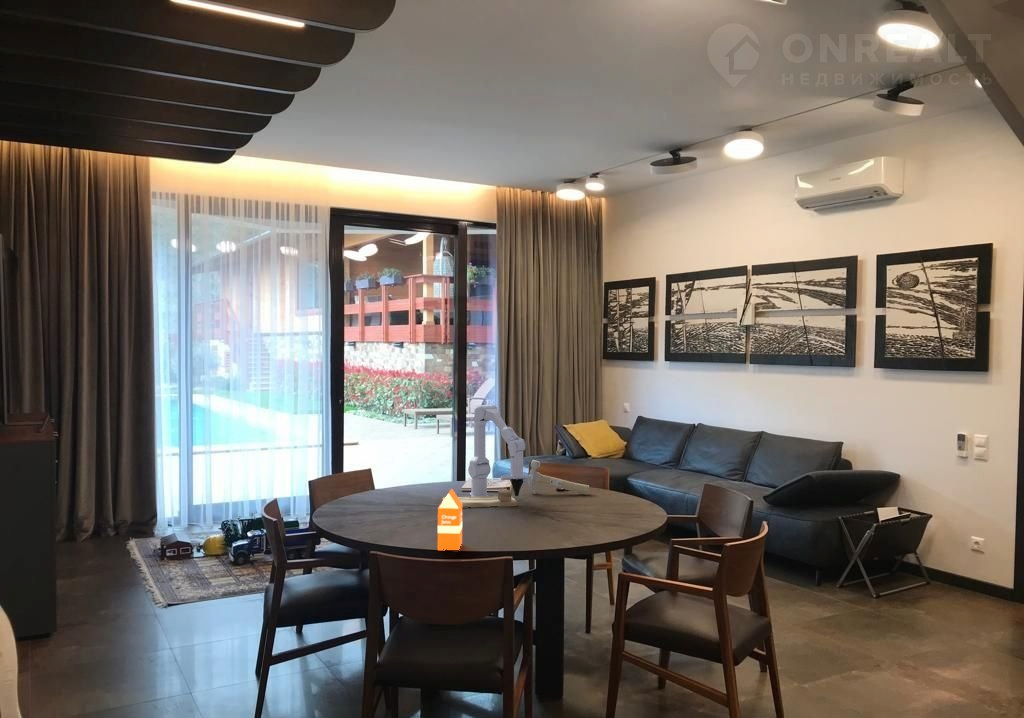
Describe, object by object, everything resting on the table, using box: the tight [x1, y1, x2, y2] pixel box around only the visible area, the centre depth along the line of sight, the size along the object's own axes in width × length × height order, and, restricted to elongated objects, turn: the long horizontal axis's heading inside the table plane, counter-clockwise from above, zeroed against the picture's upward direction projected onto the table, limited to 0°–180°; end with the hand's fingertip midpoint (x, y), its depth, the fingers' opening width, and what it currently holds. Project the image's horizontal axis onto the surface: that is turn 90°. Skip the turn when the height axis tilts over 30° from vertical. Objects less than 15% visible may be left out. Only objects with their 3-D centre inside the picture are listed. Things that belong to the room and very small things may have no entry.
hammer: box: [526, 459, 590, 496], centre depth 343 cm, size 16×5×30 cm
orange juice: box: [437, 488, 463, 551], centre depth 247 cm, size 8×9×20 cm
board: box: [441, 495, 518, 509], centre depth 319 cm, size 14×32×2 cm, turn 102°
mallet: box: [497, 488, 512, 501], centre depth 320 cm, size 10×5×4 cm, turn 12°
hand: (516, 495), depth 319 cm, fingers closed
